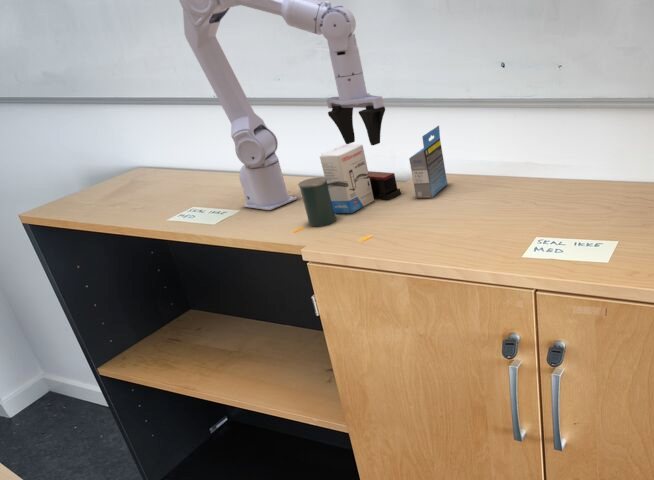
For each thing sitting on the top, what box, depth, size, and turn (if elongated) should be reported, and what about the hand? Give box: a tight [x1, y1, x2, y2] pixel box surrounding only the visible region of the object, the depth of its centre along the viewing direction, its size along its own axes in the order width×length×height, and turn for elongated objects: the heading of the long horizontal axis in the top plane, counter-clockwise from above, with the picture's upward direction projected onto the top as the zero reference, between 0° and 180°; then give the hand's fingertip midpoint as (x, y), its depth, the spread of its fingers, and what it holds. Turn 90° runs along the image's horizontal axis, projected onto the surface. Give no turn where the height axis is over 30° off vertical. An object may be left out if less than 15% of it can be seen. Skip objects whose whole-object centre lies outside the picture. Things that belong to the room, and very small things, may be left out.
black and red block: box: [368, 170, 402, 201], centre depth 144 cm, size 12×4×5 cm, turn 53°
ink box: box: [319, 143, 375, 214], centre depth 137 cm, size 9×5×12 cm, turn 153°
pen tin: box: [298, 176, 337, 228], centre depth 132 cm, size 5×5×8 cm
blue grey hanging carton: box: [408, 125, 448, 199], centre depth 139 cm, size 9×4×12 cm, turn 160°
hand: (362, 143), depth 143 cm, fingers open, 7 cm apart
